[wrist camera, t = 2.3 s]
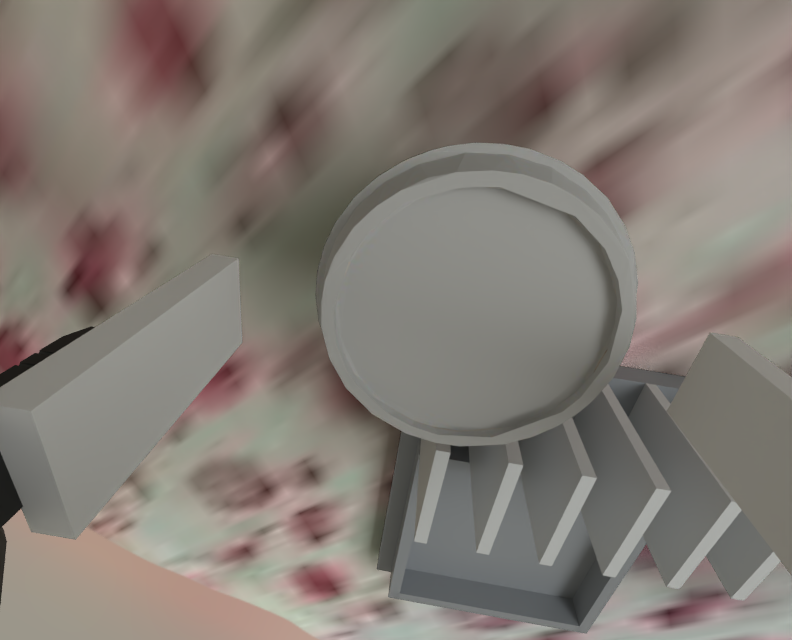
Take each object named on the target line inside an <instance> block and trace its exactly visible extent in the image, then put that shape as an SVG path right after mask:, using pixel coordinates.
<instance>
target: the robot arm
mask: <svg viewBox="0 0 792 640" xmlns="http://www.w3.org/2000/svg"><path fill="white" fill-rule="evenodd" d="M241 344H242V323H241V300H240V278H239V258H235V257H229V256H223V255H216V254H211V255H209V256H207V257H206V258H204V259H203V260H201V261H200V262H198V263H196V264H195V265H193V266H192V267H190V268H188V269H187V270H185V271H184V272H182V273H181V274H179V275H177V276H176V277H174V278H173V279H171V280H169V281H168V282H166V283H165V284H163V285H162V286H160V287H158V288H157V289H155V290H154V291H152V292H150V293H149V294H147V295H146V296H144V297H142V298H141V299H139V300H138V301H136V302H135V303H133V304H131V305H130V306H128V307H127V308H125V309H123V310H122V311H120V312H119V313H117V314H116V315H114V316H112V317H111V318H109V319H108V320H106V321H104V322H103V323H101V324H100V325H98V326H97V327H89V328H86V329H83V330H80V331H77V332H74V333H71V334H69V335H66V336H63V337H61V338H59V339H58V340H56V341H54V342H53V343H51V344H49V345H48V346H46V347H44V348H43V349H41V350H40V352H39V354H37V353H34V354H33V355H31V356H29V357H28V358H26V359H24V360H23V361H21V362H20V365H19V366H17V365H15V366H13V367H11V368H10V369H8V370H6V371H5V372H3V373H1V374H0V603H1V593H2V583H3V573H4V563H5V552H6V542H7V541H6V537H5V534H4V530H3V528H2V526H3V525H4V524H5V523H6V522H7V521H8V520H9V519H10V518H11V517H13V515H15V514H16V513H17V512H18V510H20V509H22V511H23V513H24V516H25V518H26V521H27V523H28V525H29V528H30V530H31V532H35V533H40V534H46V535H52V536H58V537H63V538H69V539H77V537H78V536H79V535H80V534H81V533H82V532H83V530H84V529H85V528H86V527H87V526H88V524H89V523H90V522H91V521H92V520H93V519H94V517H95V516H96V515H97V514H98V513H99V511H100V510H101V509H102V508H103V507H104V506H105V504H106V503H107V502H108V501H109V500H110V498H111V497H112V496H113V495H114V494H115V493H116V491H117V490H118V489H119V488H120V487H121V485H122V484H123V483H124V482H125V481H126V480H127V478H128V477H129V476H130V475H131V474H132V472H133V471H134V470H135V469H136V468H137V467H138V465H139V464H140V463H141V462H142V461H143V459H144V458H145V457H146V456H147V455H148V454H149V452H150V451H151V450H152V449H153V448H154V446H155V445H156V444H157V443H158V442H159V440H160V439H161V438H162V437H163V436H164V435H165V433H166V432H167V431H168V430H169V429H170V427H171V426H172V425H173V424H174V423H175V422H176V420H177V419H178V418H179V417H180V416H181V414H182V413H183V412H184V411H185V410H186V409H187V407H188V406H189V405H190V404H191V403H192V401H193V400H194V399H195V398H196V397H197V396H198V394H199V393H200V392H201V391H202V390H203V388H204V387H205V386H206V385H207V384H208V383H209V381H210V380H211V379H212V378H213V377H214V375H215V374H216V373H217V372H218V371H219V370H220V368H221V367H222V366H223V365H224V364H225V362H226V361H227V360H228V359H229V358H230V357H231V355H232V354H233V353H234V352H235V351H236V349H237V348H238V347H239V346H240V345H241ZM667 413H668V414H669V415H670V417H671V418H672V419H673V420H674V422H675V423H676V424H677V426H678V427H679V428H680V430H681V431H682V432H683V434H684V435H685V436H686V438H687V439H688V440H689V441H690V443H691V444H692V445H693V447H694V448H695V449H696V451H697V452H698V453H699V455H700V456H701V457H702V459H703V460H704V461H705V462H706V464H707V465H708V466H709V468H710V469H711V470H712V472H713V473H714V474H715V476H716V477H717V478H718V480H719V481H720V482H721V483H722V485H723V486H724V487H725V489H726V490H727V491H728V493H729V494H730V495H731V497H732V498H733V499H734V501H735V502H736V503H737V505H738V506H739V507H740V508H741V510H742V511H743V512H744V514H745V515H746V516H747V518H748V519H749V520H750V522H751V523H752V524H753V526H754V527H755V528H756V529H757V531H758V532H759V533H760V535H761V536H762V537H763V539H764V540H765V541H766V543H767V544H768V545H769V547H770V548H771V549H772V550H773V552H774V553H775V554H776V556H777V557H778V558H779V560H780V561H781V562H782V564H783V565H784V566H785V568H786V569H787V570H788V572H789V573H790V574H791V575H792V377H791V376H789V375H788V374H787V373H785V372H784V371H783V370H781V369H780V368H779V367H777V366H776V365H775V364H773V363H772V362H771V361H769V360H768V359H767V358H765V357H764V356H763V355H761V354H760V353H759V352H757V351H756V350H755V349H753V348H752V347H751V346H749V345H748V344H747V343H745V342H744V341H743V340H741V339H740V338H739V337H735V336H729V335H722V334H716V333H709V335H708V337H707V339H706V341H705V343H704V344H703V346H702V348H701V350H700V352H699V353H698V355H697V357H696V359H695V361H694V362H693V364H692V366H691V368H690V370H689V372H688V373H687V375H686V377H685V379H684V381H683V382H682V384H681V386H680V388H679V390H678V391H677V393H676V395H675V397H674V399H673V401H672V402H671V404H670V406H669V408H668V410H667Z"/></svg>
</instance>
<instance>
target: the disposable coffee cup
mask: <svg viewBox="0 0 792 640" xmlns="http://www.w3.org/2000/svg"><path fill="white" fill-rule="evenodd" d="M637 286H638V279H637V270H636V261H635V252H634V250H633V247H632V244H631V241H630V238H629V236H628V233H627V230H626V227H625V225H624V223H623V222H622V220H621V219H620V217H619V215H618V214H617V212H616V211H615V209H614V207H613V206H612V204H611V203H610V201H609V199H608V198H607V197H606V196H605V195H604V194H603V193H602V192H601V191H600V190H598V189H597V188H596V187H595V186H594V185H593V184H592V183H591V182H590V181H589V180H588V179H587V178H586V177H585V176H584V175H582V174H581V173H579V172H577V171H576V170H574V169H573V168H571V167H569V166H568V165H566V164H565V163H563V162H561V161H559V160H557V159H554V158H552V157H549V156H547V155H544V154H542V153H539V152H537V151H534V150H532V149H528V148H523V147H517V146H512V145H507V144H494V143H469V144H461V145H453V146H446V147H442V148H438V149H435V150H431V151H428V152H425V153H422V154H419V155H416V156H414V157H411V158H409V159H407V160H404V161H403V162H401V163H399V164H398V165H396V166H394V167H392V168H391V169H389V170H387V171H386V172H384V173H383V174H381V175H380V176H378V177H377V178H375V179H374V180H373V181H372V182H371V183H370V184H369V185H367V186H366V187H365V188H364V189H363V190H362V191H361V192H360V193H358V194H357V195H356V196H355V197H354V198H353V200H352V201H351V202H350V204H349V205H348V207H347V208H346V209H345V211H344V212H343V213H342V215H341V216H340V217H339V219H338V220H337V221H336V223H335V224H334V226H333V228H332V231H331V233H330V235H329V237H328V239H327V241H326V243H325V245H324V249H323V252H322V256H321V259H320V263H319V266H318V270H317V283H316V303H317V311H318V320H319V324H320V326H321V329H322V332H323V336H324V340H325V344H326V348H327V351H328V355H329V359H330V361H331V362H332V364H333V366H334V368H335V369H336V371H337V373H338V375H339V376H340V378H341V380H342V382H343V384H344V385H345V387H346V389H347V390H348V391H349V392H350V393H351V394H352V395H353V396H354V397H356V398H357V399H358V400H359V401H360V402H361V403H362V404H363V405H364V406H365V407H366V408H367V409H368V410H369V411H370V412H371V413H372V414H373V415H374V416H376V417H378V418H380V419H381V420H383V421H385V422H386V423H388V424H390V425H392V426H393V427H395V428H397V429H399V430H400V431H402V432H404V433H406V434H409V435H412V436H415V437H418V438H422V439H425V440H428V441H431V442H434V443H440V444H447V445H454V446H482V445H502V444H507V443H511V442H515V441H519V440H523V439H527V438H531V437H534V436H536V435H538V434H541V433H543V432H545V431H548V430H550V429H552V428H555V427H557V426H559V425H560V424H562V423H563V422H565V421H567V420H568V419H570V418H572V417H573V416H575V415H576V414H578V413H579V412H580V411H581V410H582V409H584V408H585V407H586V406H587V405H588V404H590V403H591V402H592V401H593V400H594V399H595V398H596V397H597V396H598V395H599V393H600V392H601V391H602V390H603V389H604V388H605V387H606V386H607V384H608V383H609V382H610V381H611V380H612V379H613V378H614V376H615V374H616V372H617V370H618V368H619V366H620V364H621V362H622V360H623V358H624V356H625V354H626V352H627V350H628V348H629V347H630V343H631V339H632V334H633V330H634V326H635V322H636V293H637Z"/></svg>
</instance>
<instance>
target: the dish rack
mask: <svg viewBox="0 0 792 640" xmlns="http://www.w3.org/2000/svg"><path fill="white" fill-rule="evenodd" d="M684 379H685V377H683V376H677V375H671V374H665V373H659V372H653V371H647V370H641V369H635V368H629V367H623V366H619V368H618V370H617V372H616V374H615V376H614V378H613V379H612V380H611V381H610V382H609V383H608V384H607V386H606V387H605V388H604V389H603V390H602V391H601V392H600V393H599V395H598V396H597V397H596V398H595V399H594V400H593V401H592V402H591V403H590V404H588V405H587V406H586V407H585V408H584V409H582V410H581V411H580V412H579V413H578V414H576V415H575V416H573V417H572V418H570V419H568V420H567V421H565V422H563V423H562V424H560V425H559V426H557V427H555V428H552V429H550V430H548V431H545V432H543V433H541V434H538V435H536V436H534V437H531V438H527V439H523V440H519V441H515V442H511V443H507V444H502V445H482V446H454V445H447V444H440V443H434V442H431V441H428V440H425V439H422V438H418V437H415V436H412V435H409V434H406V433H404V432H402V431H401V435H400V441H399V446H398V452H397V457H396V463H395V468H394V474H393V479H392V485H391V490H390V496H389V501H388V507H387V512H386V518H385V523H384V529H383V534H382V540H381V545H380V551H379V557H378V564H377V569H378V570H383V571H389V572H391V577H390V586H389V595H388V597H390V598H395V599H401V600H406V601H412V602H417V603H422V604H428V605H433V606H439V607H444V608H450V609H455V610H460V611H466V612H471V613H477V614H482V615H488V616H493V617H499V618H504V619H509V620H515V621H520V622H526V623H531V624H537V625H542V626H548V627H553V628H558V629H564V630H569V631H575V632H580V633H587V632H588V630H589V629H590V627H591V626H592V624H593V623H594V621H595V620H596V618H597V617H598V615H599V614H600V612H601V611H602V609H603V608H604V606H605V605H606V603H607V602H608V600H609V599H610V597H611V596H612V594H613V593H614V591H615V590H616V588H617V587H618V585H619V584H620V582H621V581H622V579H623V578H624V576H625V575H626V573H627V572H628V570H629V569H630V567H631V566H632V564H633V563H634V561H635V560H636V558H637V557H638V555H639V554H640V552H641V551H642V549H643V548H644V546H645V545H646V544H647V546H648V548H649V550H650V552H651V555H652V557H653V559H654V561H655V563H656V565H657V568H658V570H659V572H660V574H661V576H662V578H663V581H664V583H665V585H666V587H670V588H676V589H680V588H681V586H682V585H683V584H684V582H685V581H686V580H687V579H688V577H689V576H690V575H691V574H692V572H693V571H694V570H695V569H696V567H697V566H698V565H699V563H700V562H701V561H702V560H703V558H704V557H705V556H706V557H707V558H708V560H709V562H710V563H711V565H712V567H713V569H714V570H715V572H716V574H717V575H718V577H719V579H720V581H721V582H722V584H723V586H724V587H725V589H726V591H727V593H728V594H729V596H730V598H732V599H737V600H743V601H744V600H745V599H746V598H747V597H748V596H749V595H750V594H751V593H752V591H753V590H754V589H755V588H756V587H757V586H758V585H759V584H760V583H761V582H762V581H763V580H764V579H765V578H766V577H767V576H768V574H769V573H770V572H771V571H772V570H773V569H774V568H775V567H776V566H777V565H778V564H779V563H780V562H781V561H780V560H779V558H778V557H777V556H776V554H775V553H774V552H773V550H772V549H771V548H770V547H769V545H768V544H767V543H766V541H765V540H764V539H763V537H762V536H761V535H760V533H759V532H758V531H757V529H756V528H755V527H754V526H753V524H752V523H751V522H750V520H749V519H748V518H747V516H746V515H745V514H744V512H743V511H742V510H741V508H740V507H739V506H738V505H737V503H736V502H735V501H734V499H733V498H732V497H731V495H730V494H729V493H728V491H727V490H726V489H725V487H724V486H723V485H722V483H721V482H720V481H719V480H718V478H717V477H716V476H715V474H714V473H713V472H712V470H711V469H710V468H709V466H708V465H707V464H706V462H705V461H704V460H703V459H702V457H701V456H700V455H699V453H698V452H697V451H696V449H695V448H694V447H693V445H692V444H691V443H690V441H689V440H688V439H687V438H686V436H685V435H684V434H683V432H682V431H681V430H680V428H679V427H678V426H677V424H676V423H675V422H674V420H673V419H672V418H671V417H670V415H669V414H668V413H667V410H668V408H669V406H670V404H671V402H672V401H673V399H674V397H675V395H676V393H677V391H678V390H679V388H680V386H681V384H682V382H683V381H684Z"/></svg>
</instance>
